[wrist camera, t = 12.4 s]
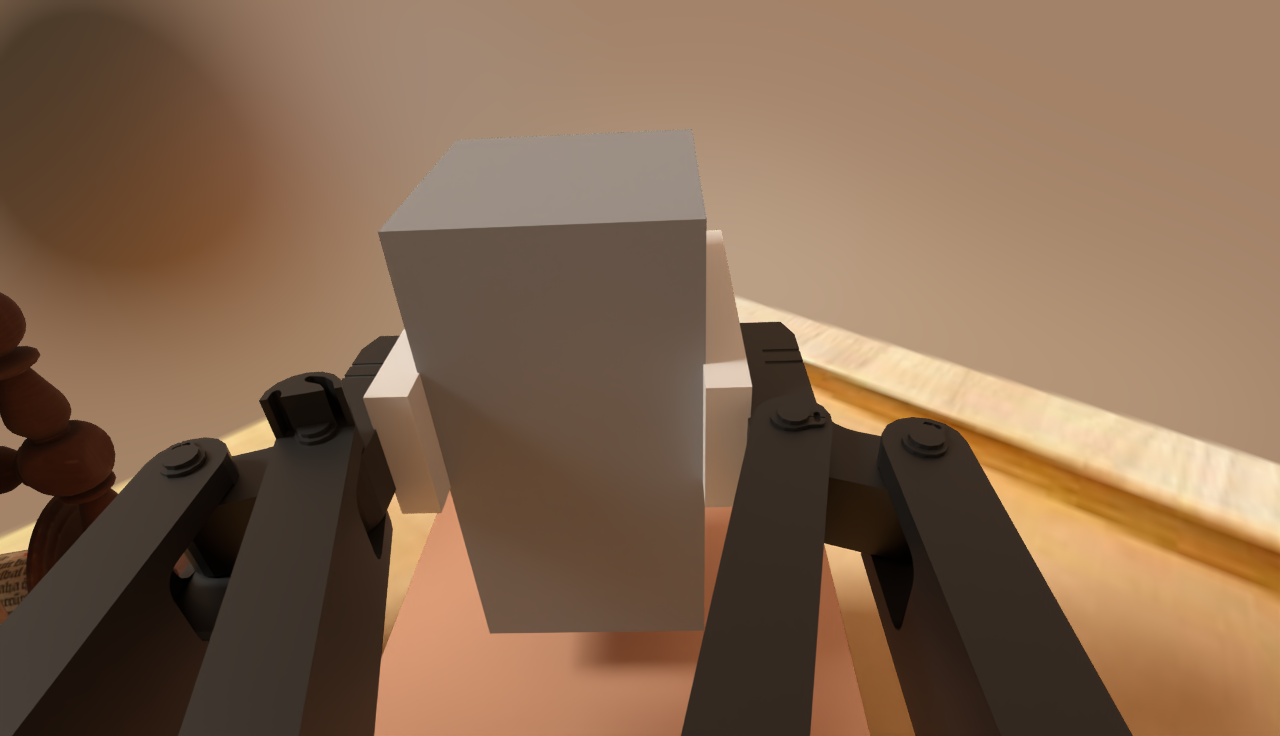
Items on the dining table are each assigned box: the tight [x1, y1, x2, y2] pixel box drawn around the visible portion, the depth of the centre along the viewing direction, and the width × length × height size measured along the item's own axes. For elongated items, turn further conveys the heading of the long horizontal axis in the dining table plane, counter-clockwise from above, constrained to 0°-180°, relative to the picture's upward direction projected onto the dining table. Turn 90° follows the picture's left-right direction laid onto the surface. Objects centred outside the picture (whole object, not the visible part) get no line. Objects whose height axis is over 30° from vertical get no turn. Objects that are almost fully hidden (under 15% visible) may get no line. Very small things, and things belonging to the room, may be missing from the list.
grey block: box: [378, 129, 706, 634], centre depth 15 cm, size 5×5×10 cm
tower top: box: [374, 491, 870, 736], centre depth 21 cm, size 12×12×5 cm
